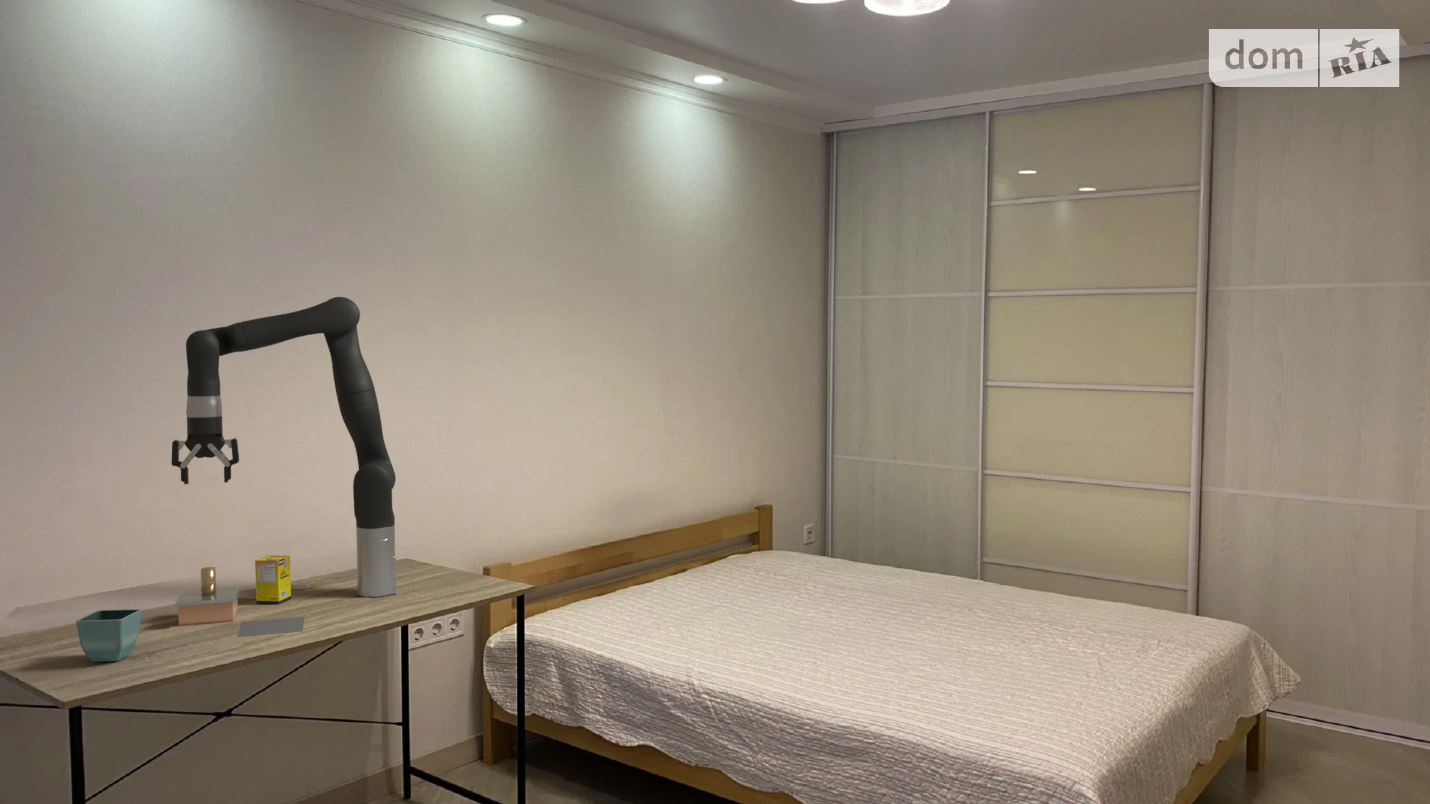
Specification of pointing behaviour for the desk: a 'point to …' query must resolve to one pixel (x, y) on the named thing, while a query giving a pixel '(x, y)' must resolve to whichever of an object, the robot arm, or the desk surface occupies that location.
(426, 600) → the desk surface
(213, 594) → the lid
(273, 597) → the supplement box
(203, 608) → the open box
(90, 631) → the flower pot
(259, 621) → the mat
